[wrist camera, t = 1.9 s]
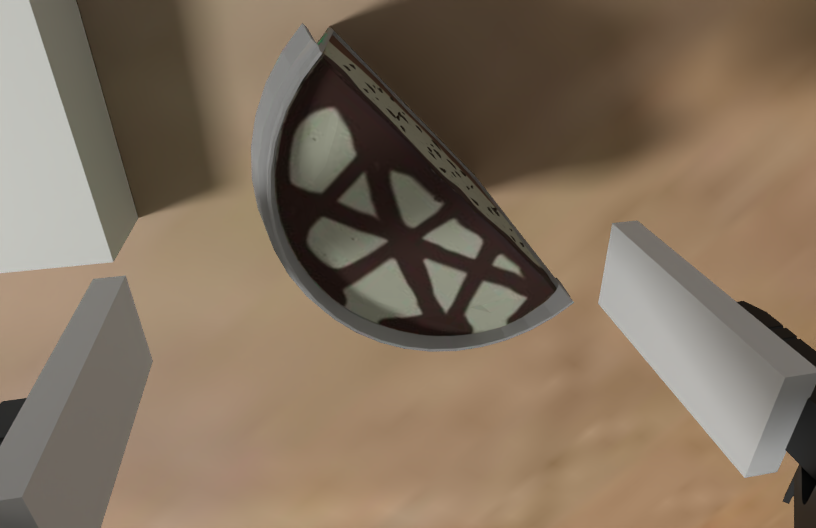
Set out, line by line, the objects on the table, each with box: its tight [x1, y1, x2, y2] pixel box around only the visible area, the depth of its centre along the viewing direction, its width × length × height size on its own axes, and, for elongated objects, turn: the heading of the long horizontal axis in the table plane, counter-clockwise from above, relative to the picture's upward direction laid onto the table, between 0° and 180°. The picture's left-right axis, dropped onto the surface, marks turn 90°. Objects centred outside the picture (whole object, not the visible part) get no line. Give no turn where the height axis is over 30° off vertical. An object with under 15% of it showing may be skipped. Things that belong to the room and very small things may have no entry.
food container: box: [251, 23, 574, 351], centre depth 21 cm, size 12×6×10 cm, turn 43°
